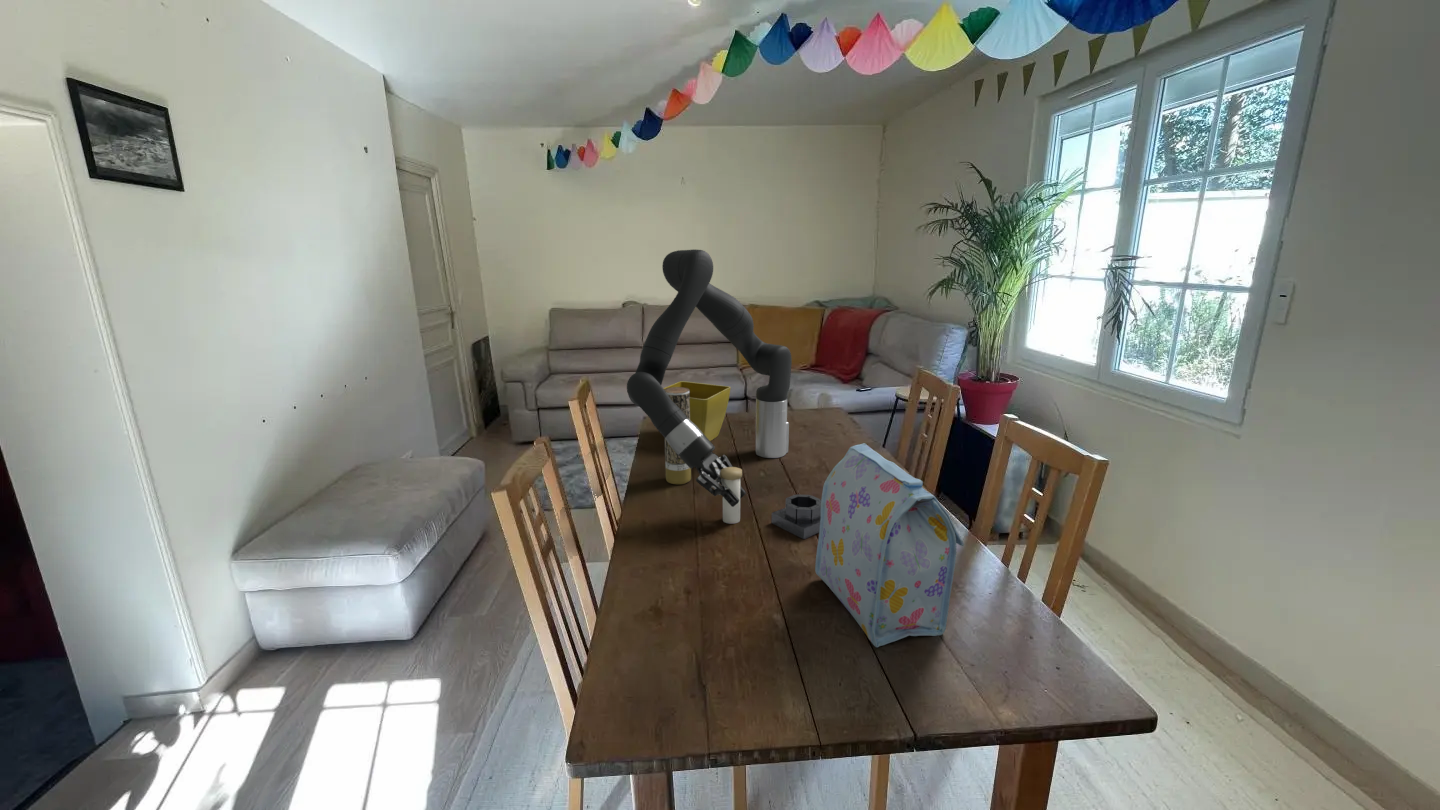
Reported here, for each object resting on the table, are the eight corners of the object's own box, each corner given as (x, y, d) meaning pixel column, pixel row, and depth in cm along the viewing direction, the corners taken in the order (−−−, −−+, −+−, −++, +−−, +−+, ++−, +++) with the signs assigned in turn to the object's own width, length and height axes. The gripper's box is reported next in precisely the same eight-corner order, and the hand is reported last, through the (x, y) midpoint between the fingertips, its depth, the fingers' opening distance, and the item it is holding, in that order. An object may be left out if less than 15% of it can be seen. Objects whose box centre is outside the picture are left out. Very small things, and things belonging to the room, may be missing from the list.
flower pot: (731, 434, 196) (731, 385, 191) (706, 452, 179) (706, 399, 175) (681, 427, 203) (680, 380, 199) (653, 444, 187) (651, 393, 182)
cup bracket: (802, 510, 139) (802, 489, 137) (834, 525, 131) (835, 503, 130) (771, 522, 133) (771, 500, 131) (803, 539, 125) (804, 515, 124)
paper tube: (692, 476, 160) (691, 387, 154) (689, 486, 153) (687, 393, 147) (668, 475, 161) (665, 386, 154) (663, 485, 154) (660, 393, 148)
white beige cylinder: (732, 513, 138) (732, 465, 134) (746, 520, 134) (746, 471, 131) (716, 519, 135) (716, 470, 132) (730, 526, 131) (730, 476, 128)
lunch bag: (964, 635, 94) (983, 482, 87) (871, 656, 89) (883, 495, 82) (887, 565, 115) (897, 437, 108) (809, 579, 110) (814, 446, 103)
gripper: (687, 442, 125) (740, 503, 124) (712, 424, 138) (760, 479, 137) (665, 463, 129) (717, 522, 127) (692, 443, 141) (739, 497, 140)
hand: (739, 499), depth 132 cm, fingers closed on white beige cylinder, 4 cm apart
